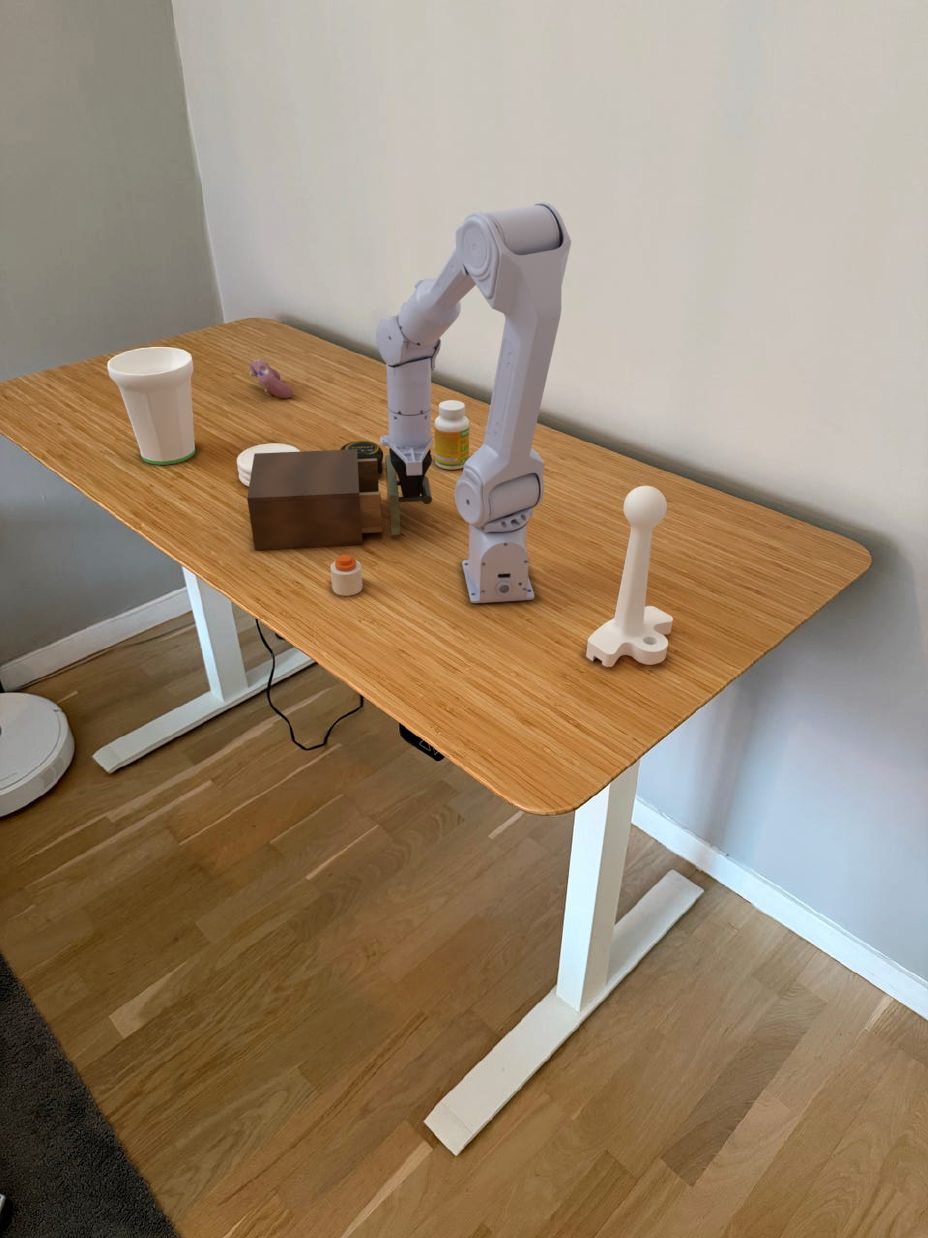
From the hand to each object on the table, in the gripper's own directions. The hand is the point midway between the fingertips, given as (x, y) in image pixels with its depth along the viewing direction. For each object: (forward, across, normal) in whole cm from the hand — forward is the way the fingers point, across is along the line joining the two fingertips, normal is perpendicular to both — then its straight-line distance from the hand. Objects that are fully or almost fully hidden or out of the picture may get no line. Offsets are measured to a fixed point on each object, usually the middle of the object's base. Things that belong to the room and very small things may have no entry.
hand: (411, 498), depth 125 cm
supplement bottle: (+3, -17, +8) cm, 19 cm away
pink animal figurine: (+4, -50, -22) cm, 55 cm away
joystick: (+3, +34, +23) cm, 41 cm away
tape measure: (+3, -15, -6) cm, 16 cm away
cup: (+4, -25, -37) cm, 45 cm away
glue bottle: (+3, +17, -9) cm, 20 cm away
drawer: (+2, 0, -6) cm, 7 cm away
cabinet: (+3, 0, -14) cm, 15 cm away
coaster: (+3, -15, -20) cm, 25 cm away
